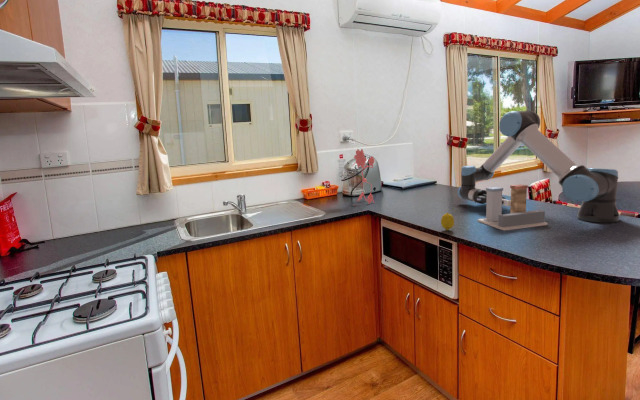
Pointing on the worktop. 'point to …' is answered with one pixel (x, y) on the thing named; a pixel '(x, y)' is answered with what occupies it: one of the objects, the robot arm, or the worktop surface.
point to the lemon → (447, 221)
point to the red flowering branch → (361, 162)
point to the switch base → (517, 220)
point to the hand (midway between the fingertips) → (509, 203)
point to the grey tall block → (494, 203)
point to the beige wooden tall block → (518, 198)
